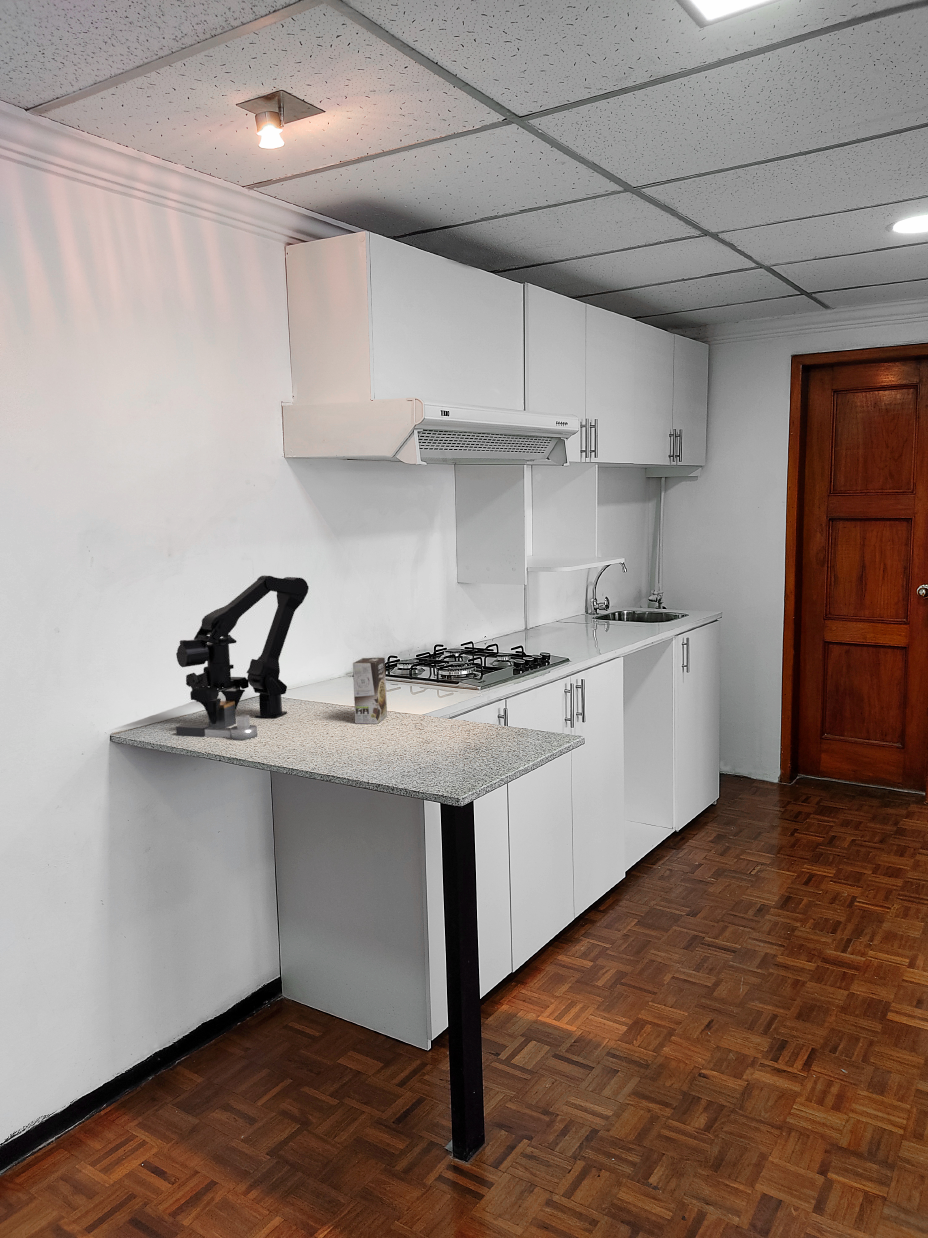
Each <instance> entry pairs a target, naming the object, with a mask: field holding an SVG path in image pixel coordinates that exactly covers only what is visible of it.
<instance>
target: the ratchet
mask: <svg viewBox="0 0 928 1238" xmlns="http://www.w3.org/2000/svg"><path fill="white" fill-rule="evenodd" d="M175 730H176V731H175V732H176V736H178V737H179V736H180V737H181V736H183V737H184V736H185V737H197V738H198V737H200V738H204V736H205V737H207V738H222V737H225V738H226V737H227V739H231V740H232V739H233V741H246V740H245V739H249V740H252V739H251V738H253V739H255V737H256V738H257V737H258V727H257V725H255V724H250V714H240V715H236V725H235V726H234V725H233V726H232V727H227V728H222V727H211V725H209V724H198V723H197V724H195V723H194V724H193V723H183V724H180V725H177V726H176V727H175Z"/></svg>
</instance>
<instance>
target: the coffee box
mask: <svg viewBox="0 0 928 1238" xmlns="http://www.w3.org/2000/svg"><path fill="white" fill-rule="evenodd" d="M352 671H353V672H352V673H353V674H352V676H353V696H354V697H353V699H354V722H355V724H369V725H370V724H371V725H378V724H379V723H380V722H382V721H383V720H384V719H386V718H387V717H388V703H387V700H388V699H387V684H386V683H387V682H386V681H387V680H386V679H387V677H386V658H385V657H362V658H361V659H358V660H356V661H355V662H353V663H352Z"/></svg>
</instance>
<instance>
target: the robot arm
mask: <svg viewBox="0 0 928 1238" xmlns="http://www.w3.org/2000/svg"><path fill="white" fill-rule="evenodd" d="M270 592H275V593H276V600H277V606H276V607H277V608H276V611H275V613H274V616H273V620H272V622H271V626H270V628H269V631H268V634H267V637H266V640H265V643H264V646H263V649H262V651H261V654H260V656H259V657H258V658H257V659H255V658H252V659H251V660H250V663H249V668H248V670H247V671H246V674H247V677H246V676H232V673H231V672H232V671H231V670H232V669H235V668H234V667H235V666H234V664H231V659H230V657H231V655H230V644H231V645H233V644H237V640H236V639H235V638H233V637H232V636H231V634H230V633H231V632H232V630H233V629H234V628H235V627H236V626H237V623H238V621H239V620H240V618H241V617H242V616H243V615H244V614H245V613H246V612H248V611H249V610H250V609H251V608H253V606H255V605H256V604H257V603H258V602H259V601H260V600H262V599H263V598H265V596H266V595H268V594H269V593H270ZM308 592H309V585H308V582H307V581H306V579H304V578H303V577H297V576H296V577H293V576H285V577H284V578H282V577H281V578H280V577H275V576H272V575H261V576H259V577H258V578H257V579H256V580H255V581H254V582H253V583H252V584H251V585H249V586H248V587H247V588H246V589H244V590H243V591H242V592H241V593H240V594H239V595H238V596H236V597H235V598H234V599H233V600H231V601H230V602H228V604H226V605H224V606H223V607H219V608H217V609H215V610H213V611H211V612H210V613H208V614H205V615H204V616H203V618H202V619H201V625H200V627H199V629H198V631H197V632H196V633H195V636H194V637H193V639H182V640H180V641H179V645H178V647H177V650H176V661H177V663H178V665H179V667H180V668H187V667H188V668H189V667H194V666H199V665H205V664H206V663H207V666H204V667H203V670H202V671H203V672H202V673H199V674H196V673H195V672H192V673H188V674H186V676H185V681H186V682H185V684H186V686H187V687H189V688H191V691H190V694H189V695H190V701H195V703H196V702H197V703H198V702H199V703H200V704H201V705H202V706H203V708H204V710H205V712H206V714H207V717H209V719H210V721H211V723H212V724H216V721H217V717H218V712H219V706H220V701H222V700H221V698H219V695H220V693H221V694H222V695H223V696H224V697H225V701H235V711H236V710H237V708H238V705H239V703H240V701H241V698H242V696H243V695H244V693H245V692H246V689H247V688H249V687H250V686H251V688H252V689H253V691H254V693H255V694H258V701H259V702H258V705H259V706H258V707H259V713H258V714H255V717H256V718H267V719H277V718H279V717H281V716H285V715H286V714H288V711H287V710H286V711H285V710H283V706H282V705H283V703H282V695H285V694H286V693H287V689H288V686H287V685H286V684H285V683H284V682H283V681H282V680H281V679H280V673H281V672H280V671H281V670H280V663H279V661H280V657H281V654H282V651H283V647H284V645H285V642H286V639H287V636H288V633H289V630H290V628H291V627H290V626H291V624H292V621H293V618H294V616H295V612H296V611H297V609H298V608H299V607H300V606H301V605H302V604H303V603H304V601H305V598H306V597H307V594H309V593H308Z"/></svg>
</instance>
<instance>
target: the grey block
mask: <svg viewBox="0 0 928 1238" xmlns="http://www.w3.org/2000/svg"><path fill="white" fill-rule="evenodd" d="M207 717H208V716H207ZM207 719H208V725H211V727H222V728H230V727H231V726H234V725H237V714H236V710H235V701H226V700H221V701H220V706H219V712H218V717H217V721H216V724H212V723H211V721H210V719H209V717H208V718H207Z"/></svg>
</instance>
